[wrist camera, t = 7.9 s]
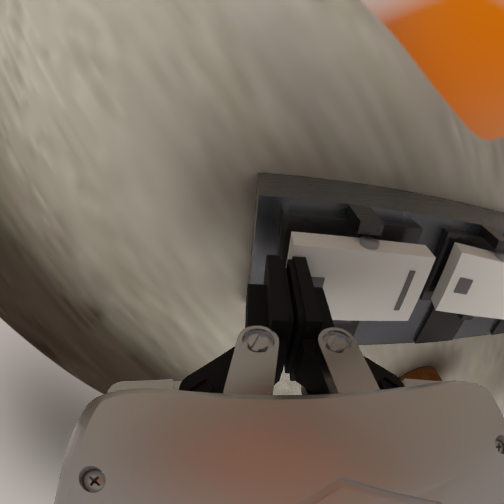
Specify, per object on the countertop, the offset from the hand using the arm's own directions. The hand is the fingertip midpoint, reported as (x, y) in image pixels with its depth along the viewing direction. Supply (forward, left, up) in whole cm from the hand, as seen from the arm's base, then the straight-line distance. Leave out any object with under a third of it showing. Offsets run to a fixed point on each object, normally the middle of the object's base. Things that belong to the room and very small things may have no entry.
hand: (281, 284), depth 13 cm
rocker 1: (-4, 0, -1) cm, 4 cm away
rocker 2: (-13, 0, -1) cm, 13 cm away
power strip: (-16, +2, -7) cm, 18 cm away
